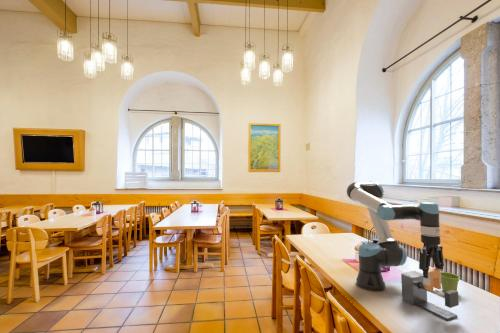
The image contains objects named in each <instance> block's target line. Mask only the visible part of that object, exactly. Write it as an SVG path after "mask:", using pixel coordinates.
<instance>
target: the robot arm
mask: <svg viewBox="0 0 500 333" xmlns="http://www.w3.org/2000/svg"><path fill="white" fill-rule="evenodd" d="M384 192H385V191H384V189H383V187H382V185H381V184H380V183H379V182H377V181H364V182H363V181H361V182H359V181H356V182H352V183H350V184H349V185H348V187H347V188H346V195H347V197H348V198H349V199H350V200H352V201H353V202H357V203H360V204H361V205H363V206H365V207H367V210H368V214H369V216H370V219H371V222H372V223H371V224H372V225H373V229H374V231H375V236H376V239H377V242H376V243H374V242H366V243H362V244H360V245H359V247H358V273H357V277H356V281H355V282H356V285H357V286H358V287H360V288H362V289H364V290H367V291H371V292H382V291H384V290H385V289H386V283H385V281H384V278H383V275H382V268H388V267H390V268H391V267H400V266H404V264H405V263H406V261H407V258H408V256H407V255H408V254H407V251H406V249H405V248H404V247H403V246H402V245H401V244H399V242H398V240H396V239H395V238H394V237H393V233H392V230H391V227H390V226H389V223H388V221H398V220H399V221H400V220H401V221H402V220H416V221H419V222H420V226H419V227H420V228H419V229H420V234H421V235H420V241H421V243H422V244H423V246H422V247H419V248H418V252H419V258H418V259H419V262H418V269H419V270H421V271H422V274H423V279H424V284H426V285H428V286H431V282H430V271H429V268H430V265H431V260H433V265H434V267H433V268H437V269H440V276H441V272H442V270H444V267H445V261H444V255H443V250H444V248H443V246H442V245H441V236H440V235H441V229H440V208H439V204H438V203H436V202H425V201H424V202H422V201H421V202H420V203H419V205H417V204H411V203H403V204H391V203H388V202H387V201H385V200H383V197H384Z"/></svg>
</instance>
